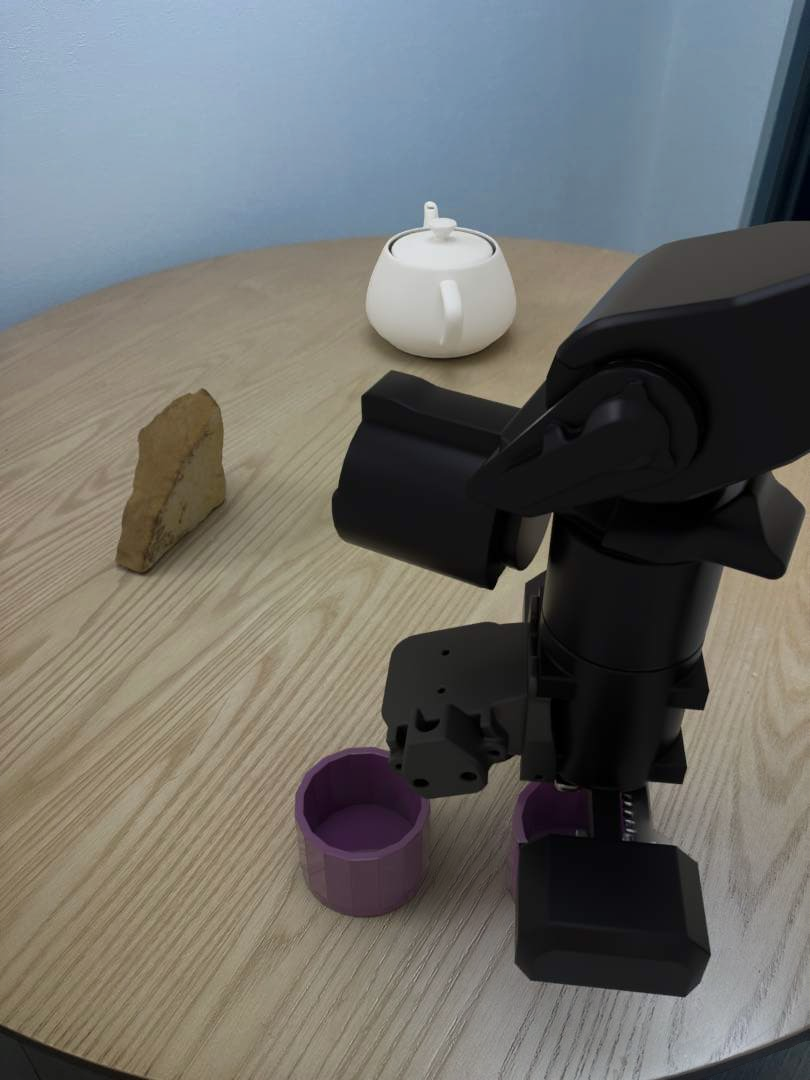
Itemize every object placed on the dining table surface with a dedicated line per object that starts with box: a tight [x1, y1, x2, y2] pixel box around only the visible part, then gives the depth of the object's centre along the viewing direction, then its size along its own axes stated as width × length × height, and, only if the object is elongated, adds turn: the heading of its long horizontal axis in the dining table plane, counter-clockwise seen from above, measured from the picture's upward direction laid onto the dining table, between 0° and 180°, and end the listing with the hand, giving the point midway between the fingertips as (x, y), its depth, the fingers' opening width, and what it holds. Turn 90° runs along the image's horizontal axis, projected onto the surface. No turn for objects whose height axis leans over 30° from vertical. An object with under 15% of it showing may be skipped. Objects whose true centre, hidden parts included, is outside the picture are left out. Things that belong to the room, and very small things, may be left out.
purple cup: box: [506, 781, 632, 905], centre depth 42 cm, size 6×6×4 cm
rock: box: [114, 387, 227, 574], centre depth 63 cm, size 11×9×10 cm
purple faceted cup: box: [293, 746, 432, 918], centre depth 43 cm, size 6×6×4 cm
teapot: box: [365, 201, 517, 359], centre depth 85 cm, size 22×14×11 cm, turn 4°
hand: (575, 865), depth 43 cm, fingers closed on purple cup, 6 cm apart
